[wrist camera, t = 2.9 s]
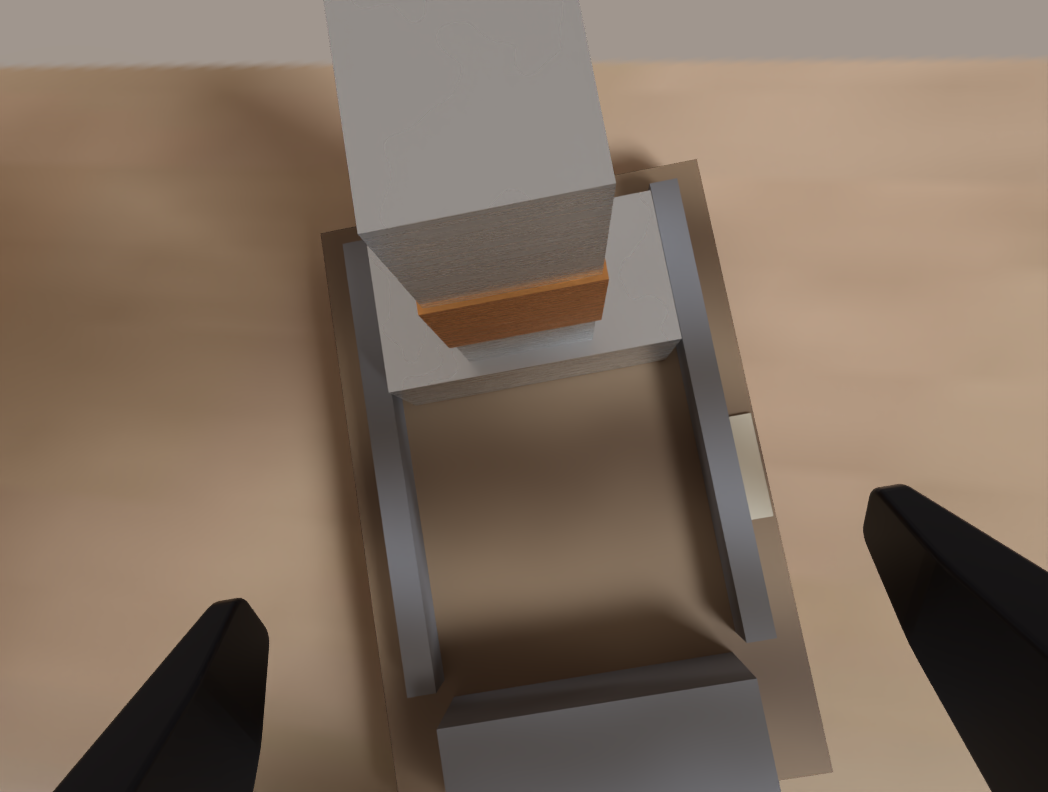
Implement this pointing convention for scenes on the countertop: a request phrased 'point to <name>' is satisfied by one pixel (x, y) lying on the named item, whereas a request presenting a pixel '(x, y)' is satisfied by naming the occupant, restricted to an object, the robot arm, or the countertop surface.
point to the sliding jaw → (492, 198)
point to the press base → (581, 557)
